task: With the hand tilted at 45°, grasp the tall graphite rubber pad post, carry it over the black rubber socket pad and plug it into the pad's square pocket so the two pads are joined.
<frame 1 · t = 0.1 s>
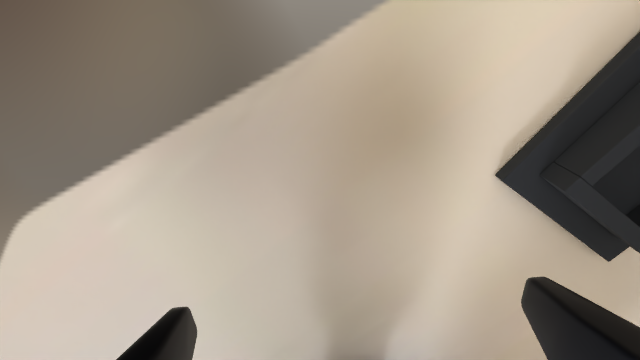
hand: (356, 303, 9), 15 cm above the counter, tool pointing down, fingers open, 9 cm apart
socket pad: (624, 153, 23), on the counter
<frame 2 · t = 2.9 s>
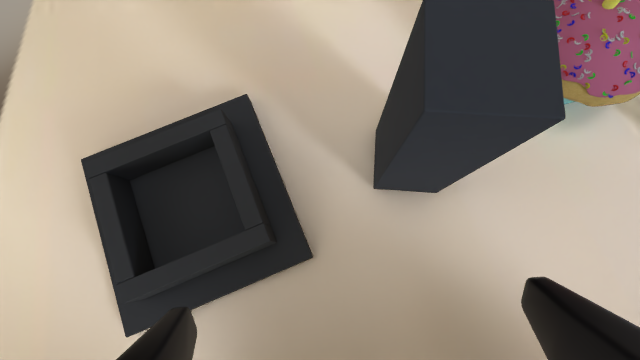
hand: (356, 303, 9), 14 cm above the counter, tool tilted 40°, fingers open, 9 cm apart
pad post: (405, 160, 23), on the counter
socket pad: (196, 207, 23), on the counter
cupcake: (546, 78, 25), on the counter
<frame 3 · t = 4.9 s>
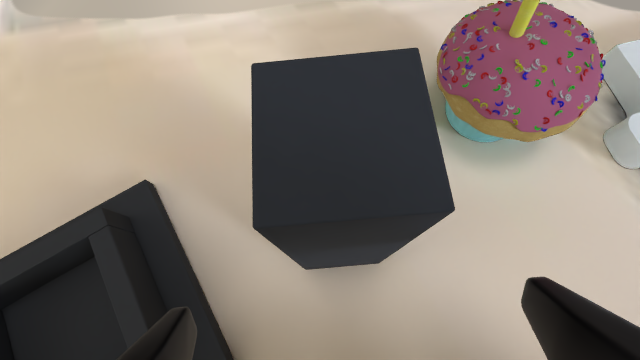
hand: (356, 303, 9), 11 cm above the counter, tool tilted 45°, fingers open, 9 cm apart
pad post: (338, 229, 20), on the counter
socket pad: (91, 329, 19), on the counter
cupcake: (479, 112, 22), on the counter
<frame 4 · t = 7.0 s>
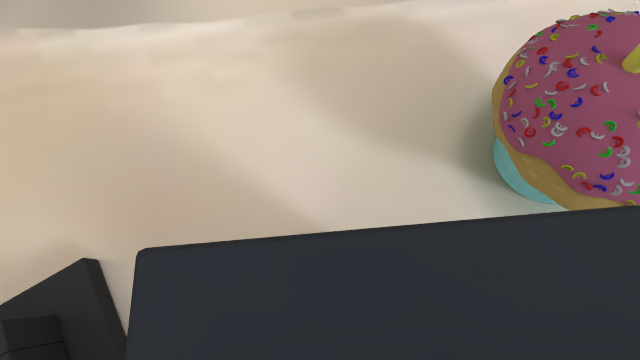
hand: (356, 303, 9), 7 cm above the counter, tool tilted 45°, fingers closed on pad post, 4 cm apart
pad post: (350, 331, 14), on the counter, touching gripper
cupcake: (538, 158, 17), on the counter
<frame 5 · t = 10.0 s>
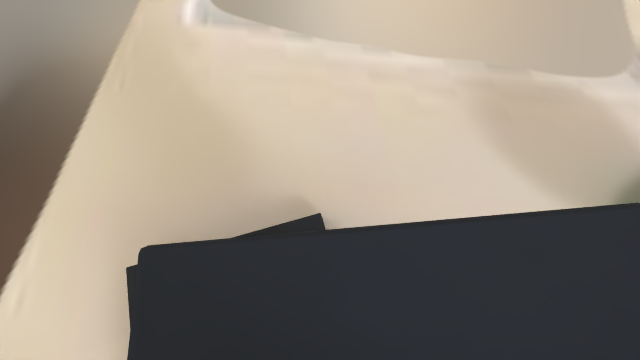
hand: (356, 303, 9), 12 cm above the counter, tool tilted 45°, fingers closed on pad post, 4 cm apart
pad post: (351, 330, 14), point 6 cm above the counter, touching gripper
socket pad: (247, 344, 20), on the counter
when the fingers open (8 cm above the counter, at t = 12.9 s): pad post stays where it is, resting on socket pad.
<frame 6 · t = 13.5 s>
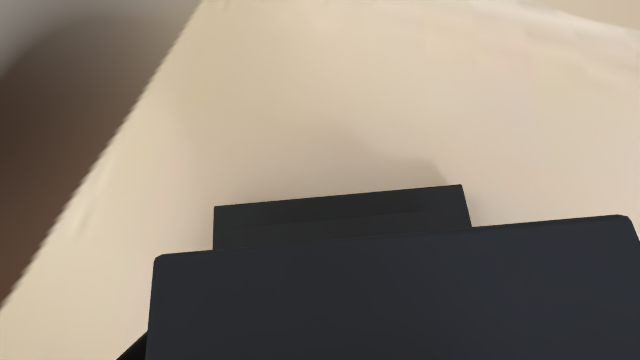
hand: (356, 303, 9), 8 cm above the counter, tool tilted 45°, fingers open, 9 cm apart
pad post: (350, 331, 15), point 1 cm above the counter, touching socket pad
socket pad: (350, 329, 15), on the counter
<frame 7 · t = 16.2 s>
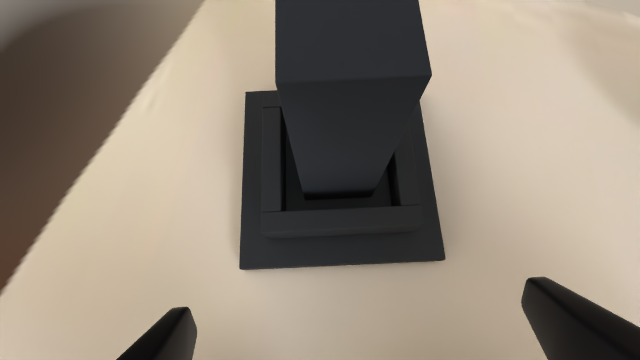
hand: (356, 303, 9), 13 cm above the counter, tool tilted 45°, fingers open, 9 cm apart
pad post: (336, 167, 22), point 1 cm above the counter, touching socket pad
socket pad: (335, 172, 23), on the counter
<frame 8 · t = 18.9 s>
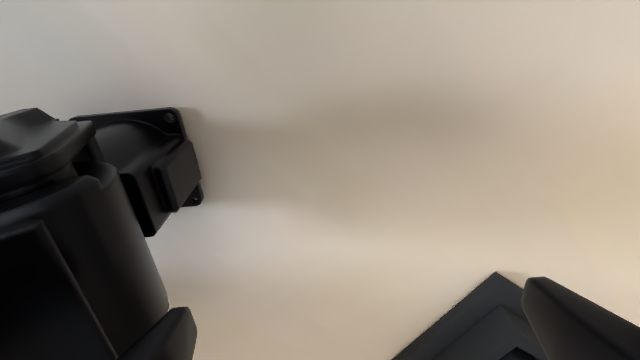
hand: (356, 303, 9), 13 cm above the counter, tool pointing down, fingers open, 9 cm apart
pad post: (495, 358, 28), point 1 cm above the counter, touching socket pad
socket pad: (489, 348, 29), on the counter
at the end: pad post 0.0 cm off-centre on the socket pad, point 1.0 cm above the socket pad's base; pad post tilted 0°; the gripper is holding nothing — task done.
